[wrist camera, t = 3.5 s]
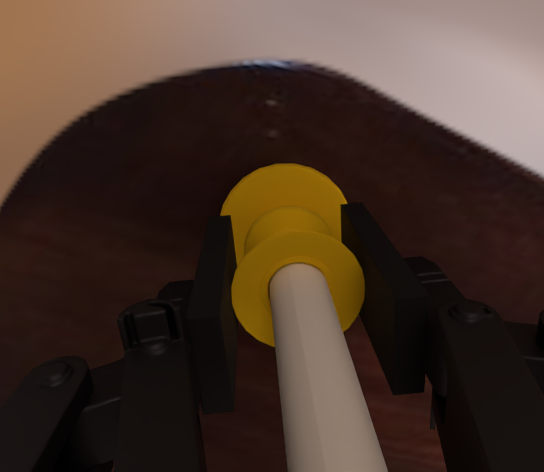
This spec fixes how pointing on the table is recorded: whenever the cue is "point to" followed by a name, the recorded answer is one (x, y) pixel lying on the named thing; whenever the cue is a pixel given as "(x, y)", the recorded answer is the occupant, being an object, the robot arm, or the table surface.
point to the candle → (304, 312)
